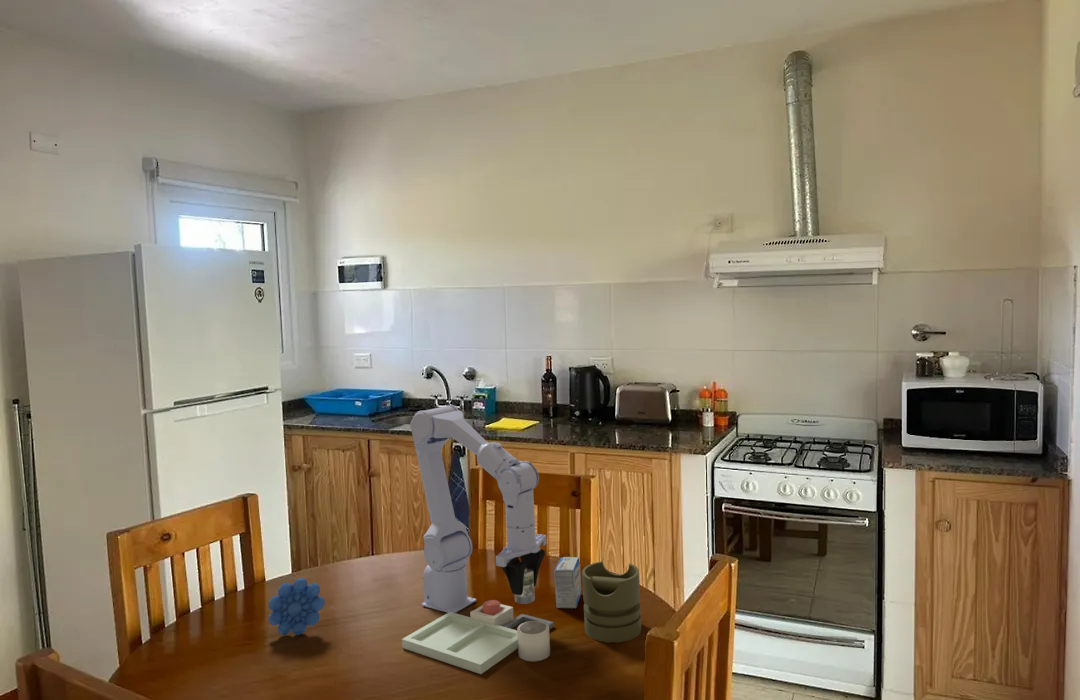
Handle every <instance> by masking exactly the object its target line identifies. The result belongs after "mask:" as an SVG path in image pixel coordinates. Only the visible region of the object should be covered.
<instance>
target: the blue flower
mask: <svg viewBox="0 0 1080 700" xmlns="http://www.w3.org/2000/svg"><path fill="white" fill-rule="evenodd" d="M320 591H321V587H320V585H319V584H318V583H314V582H312V583H310V584H309V585H308V580H307V579H306V578H304V577H299V578H297V579H296V580H294V582H293V584H292V583H290V582H284V583H283V584H281V585H280V586H279V587H278V589H277V595H274V596H272V597H271V598H270V599H269V601H268V609H269V610H270V611H271V612H270V614H269V615H268V620H267V621H268V623H269V625H271V626H277V633H278V634H279V635H281V636H287V635H288V634H289V633H291V632H292V633H293V634H294V635H295V636H301V635H303V634H304V633H305V632H306V631H307V629H308V627H307V626H309V627H313V626H315V625H316V624H317V623H319V621H320V613H319V611H321V610H322V609H323V608H324V606H325V605H326V604H325V603H326V602H325V601H326V600H325V598H324V597H323V596H322V595H321V596H320V594H319V593H320ZM300 634H301V635H300Z"/></svg>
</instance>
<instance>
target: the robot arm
mask: <svg viewBox="0 0 1080 700" xmlns="http://www.w3.org/2000/svg"><path fill="white" fill-rule="evenodd" d="M409 425H410V430H411V434H412V438H413V439H412V440H413V443H414V444H413V445H414V449H415V451H416V452H415V453H416V457H417V458H416V459H417V462H418V467H419V468H418V469H419V473H420V476H421V481H422V485H423V490H424V491H423V492H424V496H425V500H426V506H427V510H428V514H429V519H430V523H431V524H430V526H429V528H428V530H427V531H426V532H425V533H424V535H423V541H424V547H423V548H424V549H423V556H424V559H425V562H426V564H427V565H426V567H425V568H424V571H423V574H422V576H423V577H422V582H423V585H422V586H423V599H424V601H423V602H422V603H421V606H423V607H426V608H430V609H433V610H437V611H441V612H444V613H446V614H447V613H449V612H453V613H456V614H457V613H458V612H460V611H461V610H463V609H465V608H467V607H468V606H470V605H472V604H473V603H475V602H477V598H476V597H475V598H473V597H470V596H468V583H467V582H468V581H467V580H468V579H467V565H466V564H467V563H469V557H470V556H471V555H472V552H473V542H472V539H471V537H470V535H469V534H468V531H467V528H466V527H467V526H466V525H465V523H463V522H461V521H460V520H457V518H456V516H455V515H456V514H455V511H454V505H453V502H452V497H451V492H450V487H449V483H448V478H447V472H446V468H445V463H444V459H443V454H442V449H443V447H444V446H445V444H446V443H447V442H448V440H450V439H451V438H452V439H454V440H455V441H456V442H458V443H459V444H461V445H462V446H463V447H465V449H468V451H470V452H471V453H473V454H475V455H476V462H477V464H478V465H479V466H480V467H481V468H482V469H484V470H485V471H486V472H487V473H488V474H489V475H490V476H492V478H494V479H495V480H496V481H497V485H498V488H499V490H500V492H501V495H502V501H503V502H504V504H505V521H506V538H507V539H506V540H507V541H506V542H507V544H506V545H505V547H504V548H503V549H502V550H501V552H499V553H498V554H496V555H495V566H497V567H501V570H502V571H503V572H504V574H505V575H506V579H507V580H508V584H509V587H510V590H511V594H513V595H515V594H516V595H522V592H523V576H524V571H525V568H526V567H529V568H532V569H533V572H534V588H535V587H536V585H537V581H538V577H539V571H540V568H541V564H542V562H543V560H544V557H545V556H546V550H544V549H541V547H540V546H546V545H547V535H546V534H541V533H540V534H539V533H537V534H536V520H535V502H534V501H535V499H534V489H536V488H537V486H538V485H539V482H540V481H539V480H540V476H539V472H538V470H537V468H536V467H535V466H534V464H532V462H530V461H527V460H525V461H523V460H520V459H519V460H518V458H517V457H516V456H513V455H512V454H511V453H510V452H508V451H507V450H506V449H505V448H503V444H502V443H500V442H497V441H491V442H488V441H487V440H486V439H484V438H483V436H482V435H481V434H479V432H477V430H475V429H474V428H473V427H472V426H471V425H470V424H469V422H467V420H465V416H464V412H463V411H461V410H459V409H458V407H456V406H455V405H453V404H448V405H446V406H440V407H435V408H431V409H425V410H419V411H416V412H415V413H414V415H413V417H412V419H411V421H410V422H409ZM519 558H520V559H519Z"/></svg>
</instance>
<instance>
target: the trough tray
mask: <svg viewBox="0 0 1080 700" xmlns="http://www.w3.org/2000/svg"><path fill="white" fill-rule="evenodd" d="M401 648H402V649H405V650H408V651H411V652H413V653H416V654H419V655H422V656H425V657H429V658H431V659H435V660H438V661H441V662H444V663H447V664H449V665H453V666H455V667H457V668H460V669H465V670H468V671H470V672H473V673H476V674H479V675H482V674H483V673H485V672H487V671H488V670H489V669H491V668H492V667H494V666H495V665H496V664H498V663H499V662H500V661H502V660H504V659H505V658H506V657H508V656H509V655H510V654H512V653H513V652H514V651H516V650H518V634H517V630H516V629H514V628H512V629H510V628H506V627H503V626H499V625H496V624H491V623H487V622H484V621H480V620H477V619H473V618H471V617H470V616H467V615H463V614H459V613H457V612H456V613H453V612H449V613H447V612H446V613H445V614H444V615H442V616H440V617H438V618H436V619H434V620H433V621H431V622H430V623H427V624H426V625H424V626H422V627H421V628H418V629H417V630H415V631H414V632H412V633H410V634H408V635H407V636H404V637H403V638H401Z"/></svg>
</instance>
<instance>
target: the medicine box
mask: <svg viewBox="0 0 1080 700" xmlns="http://www.w3.org/2000/svg"><path fill="white" fill-rule="evenodd" d="M553 573H554V586H555V587H554V588H555V603H556V605H555V606H556V608H557V609H574V608H575V609H576V608H577V607H578V604H579V602H580V599H581V596H582V582H581V580H582V579H581V578H582V577H581V562H580V557H578V556H576V557H575V556H564V557H560V559H559V561H558V563H557V565H556V567H555V569H554V572H553Z"/></svg>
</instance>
